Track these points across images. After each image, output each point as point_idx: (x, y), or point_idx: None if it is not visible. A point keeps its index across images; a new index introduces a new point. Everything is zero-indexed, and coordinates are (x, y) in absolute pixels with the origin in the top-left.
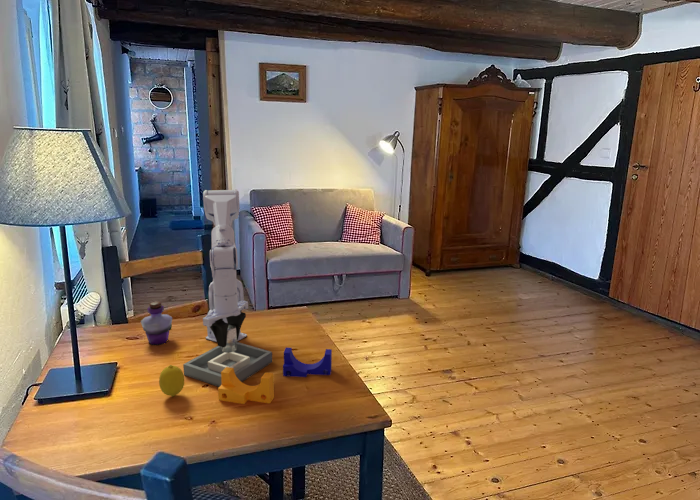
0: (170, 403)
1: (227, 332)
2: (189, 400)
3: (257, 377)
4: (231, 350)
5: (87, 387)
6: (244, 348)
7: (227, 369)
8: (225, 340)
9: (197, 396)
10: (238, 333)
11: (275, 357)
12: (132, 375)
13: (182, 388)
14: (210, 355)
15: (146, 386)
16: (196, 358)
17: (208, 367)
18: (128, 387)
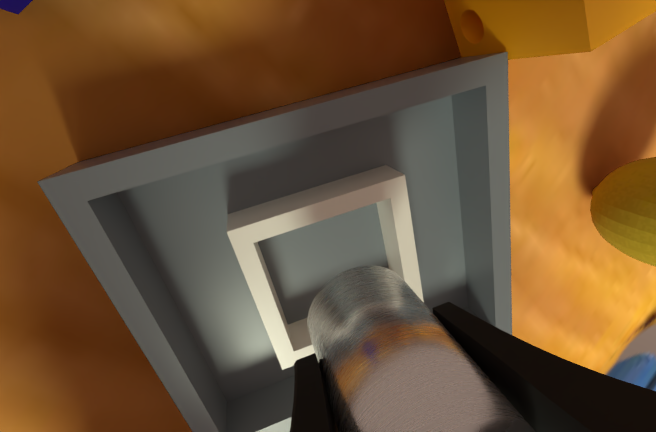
0: (630, 150)
1: (509, 404)
2: (591, 118)
3: (272, 59)
4: (384, 272)
5: (643, 379)
6: (183, 353)
7: (616, 3)
8: (483, 333)
9: (558, 123)
10: (309, 405)
11: (20, 204)
12: None
13: (622, 169)
14: None
15: (584, 305)
16: None
17: None
18: (607, 328)
